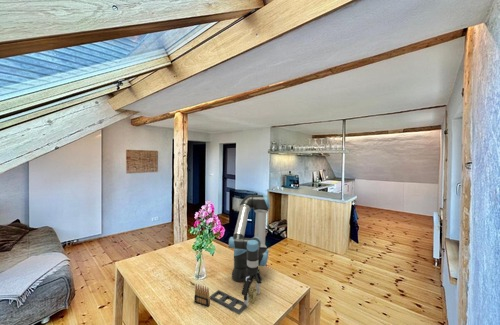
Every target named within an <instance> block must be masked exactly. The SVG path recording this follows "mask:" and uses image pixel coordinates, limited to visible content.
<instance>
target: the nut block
mask: <svg viewBox="0 0 500 325" xmlns="http://www.w3.org/2000/svg"><path fill="white" fill-rule="evenodd" d="M257 295H258V293H257V290H256V288H253V287H250V288H249V291H248V303H250V304H253V305H254V304H255V303H256V302H257V299H258V296H257Z"/></svg>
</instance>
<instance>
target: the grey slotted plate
mask: <svg viewBox="0 0 500 325" xmlns="http://www.w3.org/2000/svg"><path fill="white" fill-rule="evenodd" d="M218 295H220V296H221V297H220V298H217V296H218ZM209 297H210V300H211V301H213V302H214V303H216V304H218V305H221V306H222V307H224V308H226V309H227V310H229V311H231V312H234V313H235V314H238V315H241V314H242V312H244V310H246V309H247V307H248V306H247V305H245V304H244V300H243V301H242V300H240V299H238V298H237V297H235V296H232V295H230V294H228V293H225V292H223V291H221V290H219V289H217V290H216V291H215V292H214V293H212V294H211V295H209ZM226 300H230V302H229V303H228V302H225V301H226ZM237 305H240V306H241V307H240V308H239V309H238V307H235V306H237Z"/></svg>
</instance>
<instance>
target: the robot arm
mask: <svg viewBox="0 0 500 325" xmlns="http://www.w3.org/2000/svg"><path fill="white" fill-rule="evenodd" d="M238 208H239V213H238V216H237V220H236V225H235V228H234V232H233V236H230V237H229V238H228V247H229V249H234V250H233V268H232V272H231V279H232V280H233V281H234V282H237V283H243V286H242V290H241V295H242V296H243V302H244V304H245V305H247V307H248V306H249V302H248V291H249V289H250V288H251V285H252V284H253V282H254V281H255V289H256V290H257V295H259V294H261V288H260V287H261V284H262V282H263V278H262V275H261V271H260V269H259V267H265V266H267V263H268V259H269V254H270V253H269V252H270V251H269V249H267V248H268V247H267V245H266V226H267V214H268V212H269V211H270V209H271V203H270V196H268V195H267V194H265V195H264V194H250V195H246V196H245V197H244V198H243V199H242V200H241V201H240V204H239V207H238ZM251 209H253V211H254V213H255V219H254V220H255V223H254V236H253V237H251V238H250V237H245V234H246V227H247V224H248V217H249V212H251Z"/></svg>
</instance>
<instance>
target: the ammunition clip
mask: <svg viewBox="0 0 500 325" xmlns="http://www.w3.org/2000/svg"><path fill="white" fill-rule="evenodd" d="M210 300H211V299H210V289H209V287H208V286H207V287H206V286H204V285H200V284H197V283H195V288H194V300H193V302H194V304H197V305H200V306H202V307H203V306H204V307H207V308H210V306H211V302H210Z"/></svg>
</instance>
